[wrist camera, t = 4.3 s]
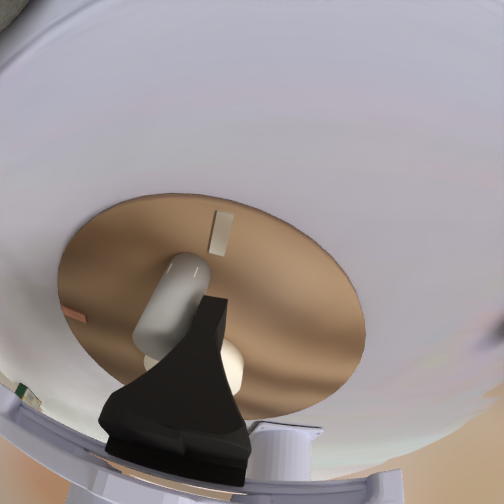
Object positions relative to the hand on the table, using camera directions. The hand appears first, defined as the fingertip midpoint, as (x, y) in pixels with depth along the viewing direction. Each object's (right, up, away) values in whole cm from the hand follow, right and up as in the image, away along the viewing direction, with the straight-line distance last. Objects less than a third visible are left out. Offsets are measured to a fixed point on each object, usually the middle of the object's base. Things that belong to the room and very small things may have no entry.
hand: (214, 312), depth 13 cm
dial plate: (-2, -4, +8) cm, 9 cm away
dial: (-2, -3, +5) cm, 6 cm away
